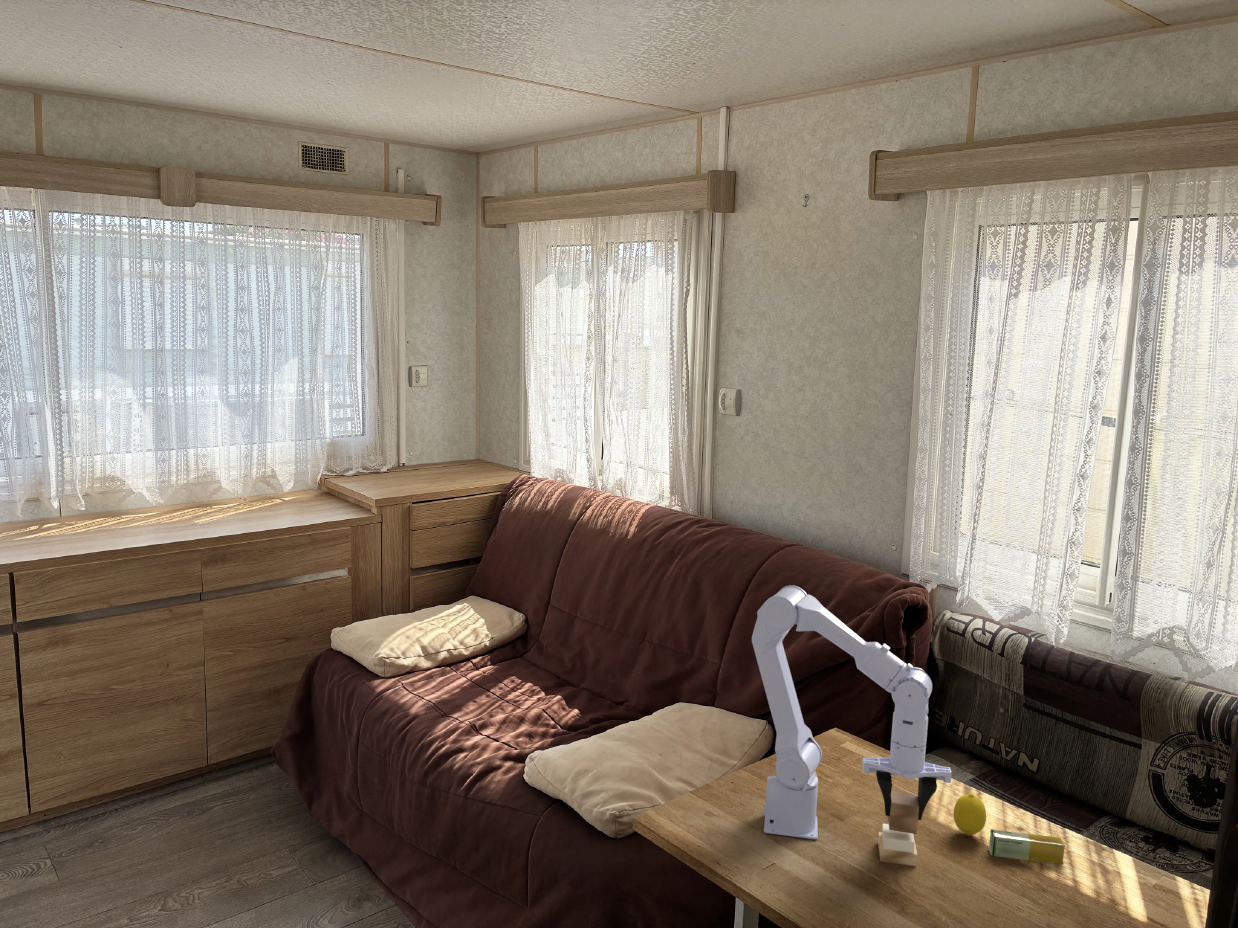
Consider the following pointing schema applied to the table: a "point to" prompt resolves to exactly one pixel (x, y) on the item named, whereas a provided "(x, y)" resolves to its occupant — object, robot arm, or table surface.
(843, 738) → the table surface
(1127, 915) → the table surface
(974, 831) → the lemon
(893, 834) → the cream block
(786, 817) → the robot arm
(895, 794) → the walnut block
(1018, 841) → the medication box
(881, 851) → the oak base block
